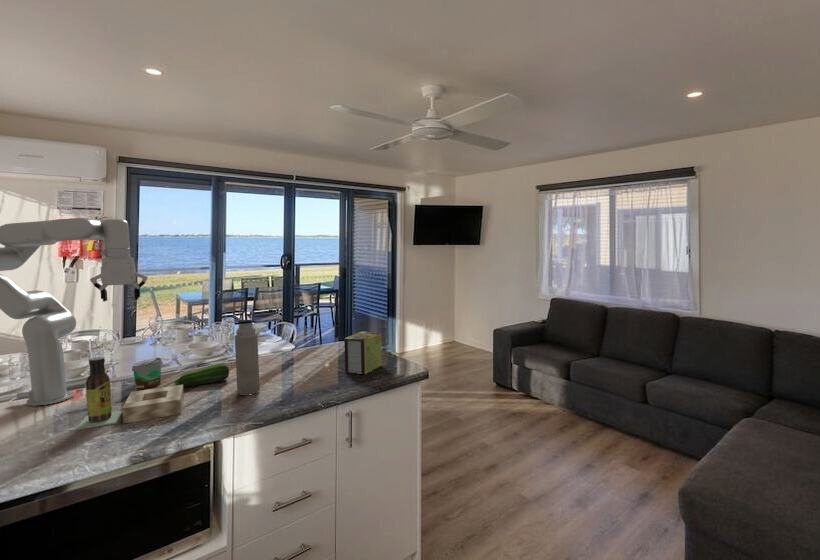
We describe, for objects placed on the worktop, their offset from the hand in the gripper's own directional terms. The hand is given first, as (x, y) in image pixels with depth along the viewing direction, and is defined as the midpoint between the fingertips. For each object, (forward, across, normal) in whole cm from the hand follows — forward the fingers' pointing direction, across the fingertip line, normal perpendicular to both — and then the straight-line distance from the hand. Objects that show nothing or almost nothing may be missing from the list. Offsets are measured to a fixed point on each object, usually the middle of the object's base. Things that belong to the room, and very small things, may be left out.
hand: (121, 300), depth 149 cm
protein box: (+37, +90, -10) cm, 98 cm away
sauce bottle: (+36, -4, -22) cm, 42 cm away
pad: (+36, -4, -22) cm, 43 cm away
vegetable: (+37, +25, +2) cm, 44 cm away
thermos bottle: (+36, +41, -17) cm, 57 cm away
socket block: (+36, +11, -20) cm, 43 cm away
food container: (+36, +7, +8) cm, 38 cm away
